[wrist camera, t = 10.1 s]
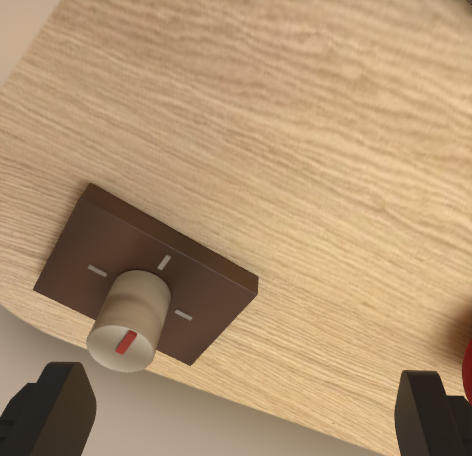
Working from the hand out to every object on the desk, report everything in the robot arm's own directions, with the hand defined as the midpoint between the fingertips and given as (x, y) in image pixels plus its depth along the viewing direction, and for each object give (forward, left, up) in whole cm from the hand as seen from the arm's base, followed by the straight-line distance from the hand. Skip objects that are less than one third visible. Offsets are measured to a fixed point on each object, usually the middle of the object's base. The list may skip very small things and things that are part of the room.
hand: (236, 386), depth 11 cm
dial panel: (0, -15, -19) cm, 25 cm away
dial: (0, -15, -17) cm, 23 cm away
